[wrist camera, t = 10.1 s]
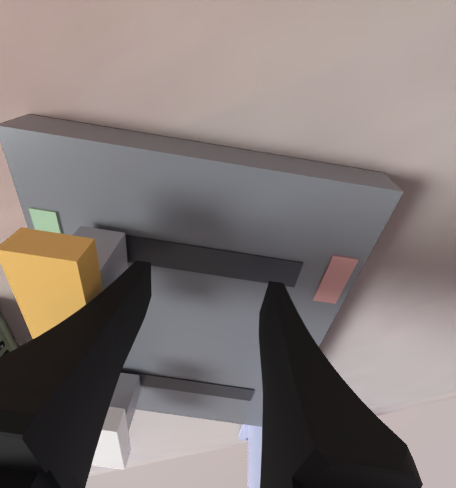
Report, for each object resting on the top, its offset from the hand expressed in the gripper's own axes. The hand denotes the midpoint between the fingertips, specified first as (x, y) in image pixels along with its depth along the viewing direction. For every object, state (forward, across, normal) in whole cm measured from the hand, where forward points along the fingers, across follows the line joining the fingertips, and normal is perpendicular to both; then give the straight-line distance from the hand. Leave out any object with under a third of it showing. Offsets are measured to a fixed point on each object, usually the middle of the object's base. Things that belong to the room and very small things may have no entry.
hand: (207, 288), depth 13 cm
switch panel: (+4, +1, +6) cm, 7 cm away
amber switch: (+2, +5, 0) cm, 5 cm away
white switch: (+2, +5, +12) cm, 13 cm away
